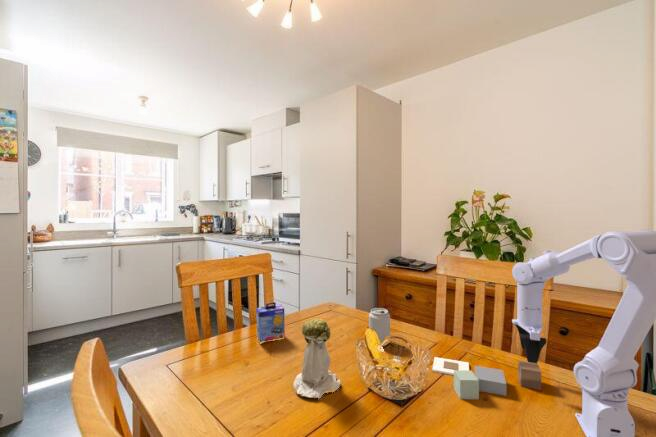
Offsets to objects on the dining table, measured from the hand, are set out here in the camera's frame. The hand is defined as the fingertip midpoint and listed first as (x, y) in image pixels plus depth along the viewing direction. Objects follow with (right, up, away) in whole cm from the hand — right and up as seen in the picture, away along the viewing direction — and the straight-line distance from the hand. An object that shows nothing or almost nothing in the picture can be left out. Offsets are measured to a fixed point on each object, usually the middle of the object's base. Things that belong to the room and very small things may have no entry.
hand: (529, 355), depth 84 cm
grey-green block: (-19, -9, -3) cm, 21 cm away
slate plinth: (-11, -8, 0) cm, 14 cm away
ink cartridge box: (-76, -9, +32) cm, 83 cm away
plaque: (-18, -8, +9) cm, 22 cm away
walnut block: (0, -8, 0) cm, 8 cm away
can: (-36, -8, +27) cm, 46 cm away
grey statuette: (-58, -9, +1) cm, 59 cm away
